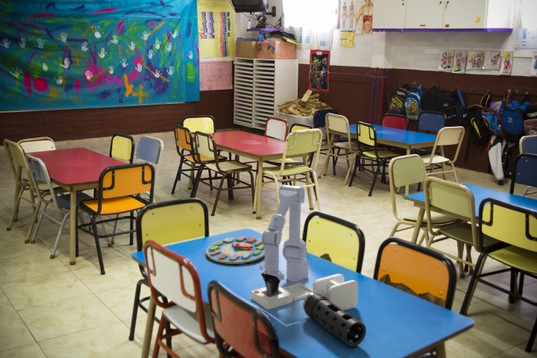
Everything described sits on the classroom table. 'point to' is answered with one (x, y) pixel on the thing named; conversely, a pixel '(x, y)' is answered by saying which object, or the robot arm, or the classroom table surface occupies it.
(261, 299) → the socket block
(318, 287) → the cable organizer
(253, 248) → the shape sorting clock
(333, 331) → the muzzle brake
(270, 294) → the plug
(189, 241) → the classroom table surface
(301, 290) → the tray
